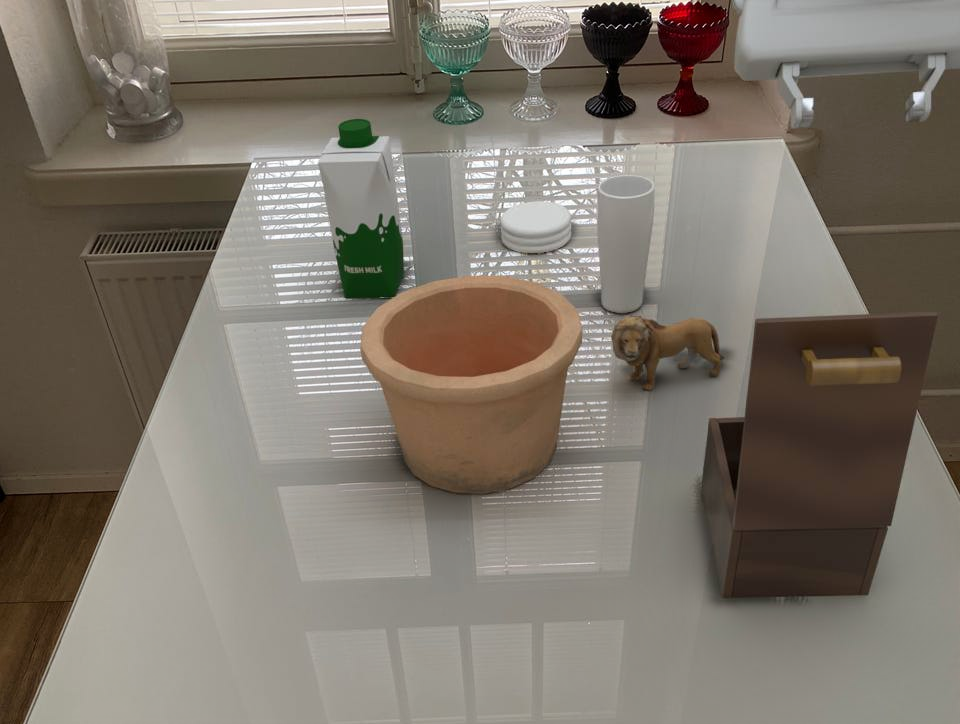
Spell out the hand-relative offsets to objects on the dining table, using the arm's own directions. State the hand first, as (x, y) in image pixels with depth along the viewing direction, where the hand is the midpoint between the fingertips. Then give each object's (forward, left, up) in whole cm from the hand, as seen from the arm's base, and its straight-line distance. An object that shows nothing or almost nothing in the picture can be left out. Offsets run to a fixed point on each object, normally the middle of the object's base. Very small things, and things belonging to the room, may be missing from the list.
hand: (860, 121), depth 83 cm
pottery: (+34, 0, -32) cm, 46 cm away
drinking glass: (+17, -30, -32) cm, 46 cm away
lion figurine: (+13, -12, -32) cm, 36 cm away
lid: (+5, +24, -14) cm, 28 cm away
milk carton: (+50, -38, -32) cm, 70 cm away
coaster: (+28, -50, -32) cm, 65 cm away
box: (+5, +17, -31) cm, 36 cm away
